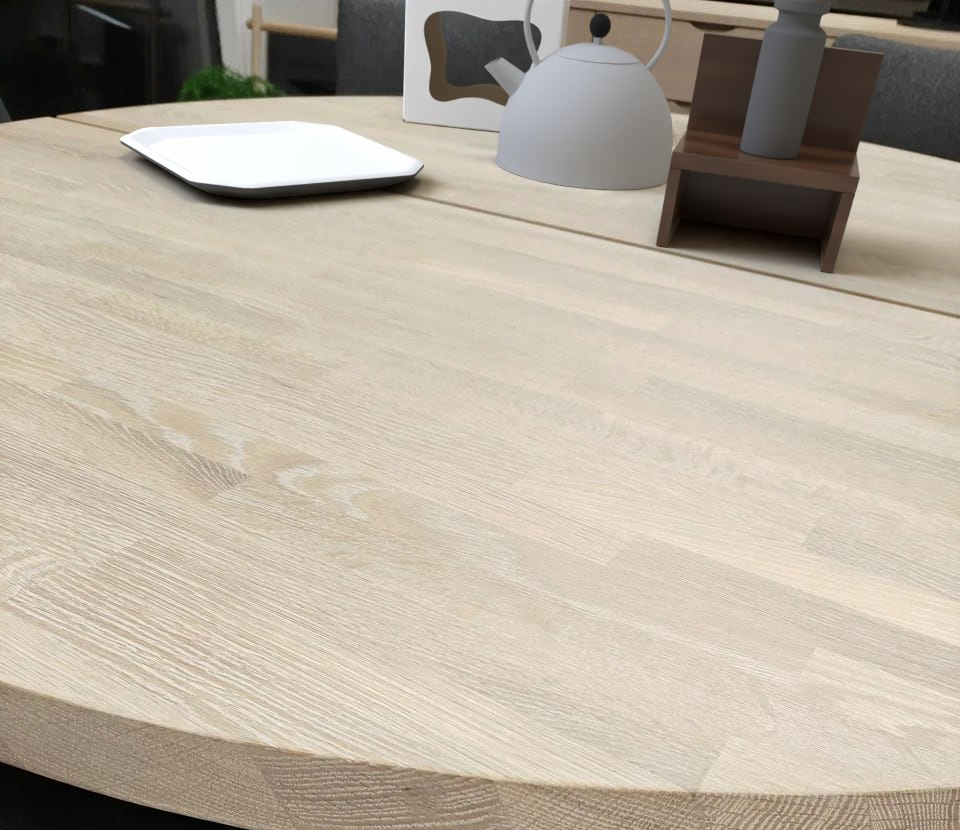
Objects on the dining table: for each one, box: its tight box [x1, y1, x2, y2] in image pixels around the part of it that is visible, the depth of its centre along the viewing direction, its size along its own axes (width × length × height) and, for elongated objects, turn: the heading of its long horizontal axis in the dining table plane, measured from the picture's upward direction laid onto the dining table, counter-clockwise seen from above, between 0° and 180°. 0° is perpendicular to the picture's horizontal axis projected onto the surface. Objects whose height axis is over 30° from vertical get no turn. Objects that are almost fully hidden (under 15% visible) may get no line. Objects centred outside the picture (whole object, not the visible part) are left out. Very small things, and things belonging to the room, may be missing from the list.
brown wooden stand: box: [655, 31, 885, 274], centre depth 102 cm, size 14×18×18 cm
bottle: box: [740, 0, 832, 159], centre depth 96 cm, size 6×6×15 cm
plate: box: [119, 120, 425, 200], centre depth 116 cm, size 29×29×2 cm
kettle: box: [484, 0, 674, 191], centre depth 123 cm, size 25×23×22 cm
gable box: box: [402, 0, 571, 133], centre depth 141 cm, size 22×13×28 cm, turn 82°
